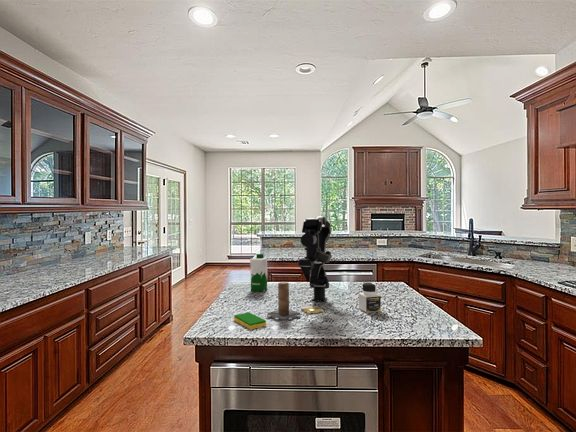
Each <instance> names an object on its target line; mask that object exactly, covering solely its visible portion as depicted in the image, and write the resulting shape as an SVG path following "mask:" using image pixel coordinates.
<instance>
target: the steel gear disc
mask: <svg viewBox="0 0 576 432" xmlns="http://www.w3.org/2000/svg"><path fill="white" fill-rule="evenodd" d="M300 314H301V312H300V311H296V310H293V309H290V308H289V315H285V316H282V315H279V314H278V309H276V310H273V311H268V312H267V315H266V318H267V319H272V320H274V321H275V322H279V321H288V322H292V320H294V319H300V318H301V315H300Z"/></svg>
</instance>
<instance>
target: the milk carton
mask: <svg viewBox="0 0 576 432" xmlns="http://www.w3.org/2000/svg"><path fill="white" fill-rule="evenodd" d="M249 263H250V291H251V292H256V291H261V292H260V293H264V292H265V291H266V290H268V257H265V256H264V253H256V256H255V257H252V258H250V259H249ZM264 290H265V291H264Z"/></svg>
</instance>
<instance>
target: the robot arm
mask: <svg viewBox="0 0 576 432" xmlns="http://www.w3.org/2000/svg"><path fill="white" fill-rule="evenodd" d="M301 233H302V236H301V237H300V243H301V245H302V246H303V247H304V251H305V253H306V254H305V255H306V256H304V258H299V260H297V266H299V267H298V268H299V269H301V271H302V274H303V275H304V278H305V279H306V282H309V287H310V289H312V288H313V298H312V299H311V301H314V302H322V303H323V302H325V301H326V300H328V297H327V296H326V289H329V288H330V282H329V278H328V276H327V272H326V271H325V263H326V264H328V263H330V261H331V259H332V252H331V251H329V250H326V249H327V242H328V241H329V240H330V238H331V235H332V226H331V223H330V221H328V220H327V218H326V216H315V217H306V218H304V220H303V223H302V229H301Z"/></svg>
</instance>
